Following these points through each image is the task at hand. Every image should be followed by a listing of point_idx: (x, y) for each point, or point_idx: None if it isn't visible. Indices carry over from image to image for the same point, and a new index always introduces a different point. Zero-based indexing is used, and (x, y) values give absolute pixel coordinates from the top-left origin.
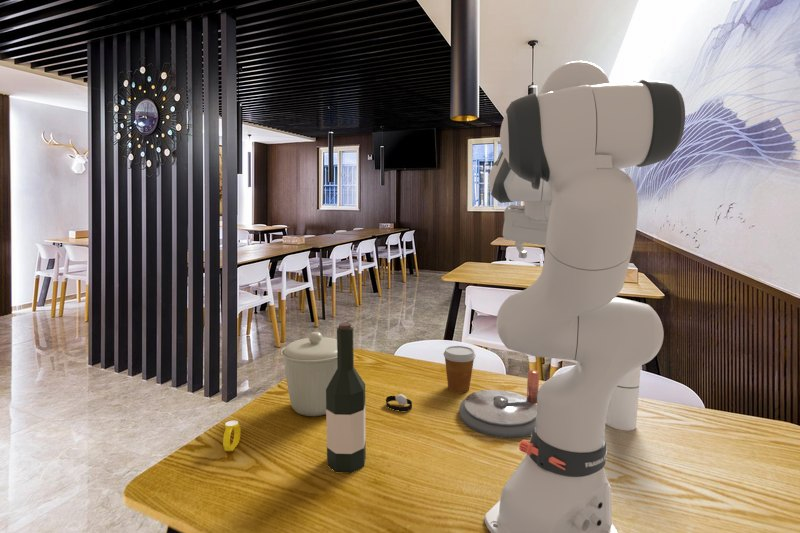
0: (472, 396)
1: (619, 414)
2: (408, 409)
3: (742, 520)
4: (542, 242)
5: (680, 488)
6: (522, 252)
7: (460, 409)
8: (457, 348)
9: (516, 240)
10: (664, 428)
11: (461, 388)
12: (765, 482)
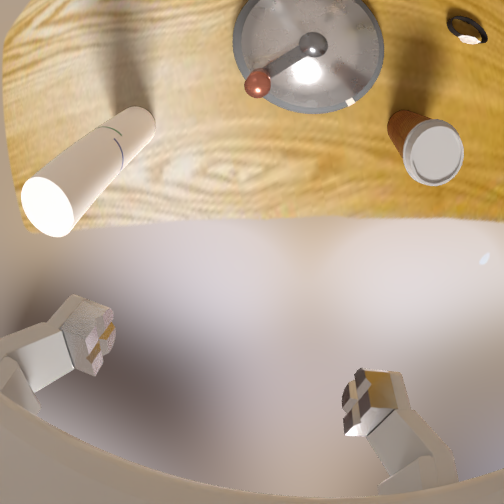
0: (370, 57)
1: (123, 112)
2: (449, 20)
3: (27, 12)
4: (128, 498)
5: (63, 18)
6: (383, 407)
7: (375, 21)
8: (442, 172)
9: (462, 489)
10: None
11: (399, 113)
12: (14, 93)
